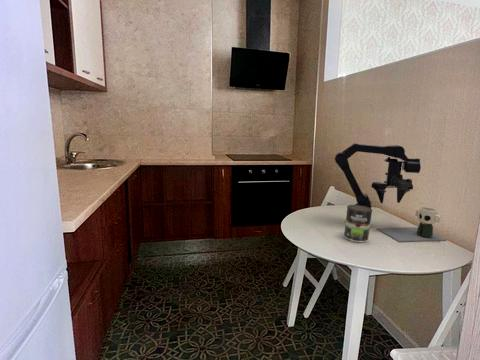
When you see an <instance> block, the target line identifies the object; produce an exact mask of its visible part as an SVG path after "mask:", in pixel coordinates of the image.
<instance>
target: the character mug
mask: <svg viewBox="0 0 480 360" xmlns="http://www.w3.org/2000/svg"><path fill="white" fill-rule="evenodd" d="M438 213H439V210H438V209H437V208H433V207H429V206H420V207H419V209H416V210H415V217H417V220H418V222H419V224H418V226H417V227H418V229H417V234H418V235H420V234H421V236H425V237H431V236H433V234H434V226H433V225H434V224H437V223H438V224H439V223H440V221H441V217H442V216H441V215H438Z"/></svg>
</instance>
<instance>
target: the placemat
mask: <svg viewBox="0 0 480 360" xmlns="http://www.w3.org/2000/svg"><path fill="white" fill-rule="evenodd" d="M417 229H418V226H414V227H413V226H412V227H408V226H407V227H376V230H377V231H379V232H380V233H382V234H384V235H385V236H388V237H389V238H391V239H393V240H395V241H396V242H398V243H417V242H418V243H419V242H420V243H422V242H424V243H426V242H447V240H448V239H446V238H444V237H442V236H440V235H438V234H436V233H433V236H431V237H425V236H421V234H420V235H418V234H417Z"/></svg>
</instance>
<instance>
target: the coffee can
mask: <svg viewBox="0 0 480 360" xmlns="http://www.w3.org/2000/svg"><path fill="white" fill-rule="evenodd" d="M346 208H347V210H346V216H345V225H344V234H343V237H344V238H345V239H346V240H348V241H349V242H350V241H351V242H353V243H367V242H369V235H370V228H371V223H372V221H371V220H372V213H373V208H372V207H371V208H369V207H366V206H361V205H355V204H348V205H347V206H346Z"/></svg>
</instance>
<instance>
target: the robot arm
mask: <svg viewBox="0 0 480 360" xmlns="http://www.w3.org/2000/svg"><path fill="white" fill-rule="evenodd" d="M405 151H406V150H405V148H404V147H403V145H402V146H401V145H397V144H393V145H392V144H390V145H375V144H374V145H373V144H361V143H357V142H356V143H352V144H351V145H350V146H348V147H347V148H346V149H344V150H343V151H340V152H337V153H336V154H335V155H334V162H335V163H336V165H337V166H338V167H339V168H340V169H341V172H343V174H344V175H345V178H346V180H347V182H348V185H349V186H350V188H351V190H352V192H353V194H354V197H355V201H356V203H355V204H354V205H361V206H366V207H369V208H371V209H372V201H371V199H370V197H369V196H368V194H367V193H365V194H364V192H362V190H361V188H360V185H359V184H358V181H357V179H356V177H355V176H354V173H353V172H352V170H351V167H350V163H349V159H350V158H351V157H352V156H353V155H354V154H355V153H367V154H378V155H385V156H387V157H386V158H385V159H383V161H384V162H386V163H388V165H387V172H385V173H384V175H385V176H386V180H384V181H383V182H380V181H373V182H372V183H371V186H370V188H372V189H373V190H375V192H376V194H377V196H378V200H379V202H380V204H383V203H384V197H385V193H386V192H387V190H386V189H393V188H396V201H397V204H400V203H401V201H402V199H403V198H404V196H405V195H406V194H407V193H408V192H410V191H412V190H414V184H413V180H412V179H411V178H403V174H401V173H402V171H404V173H408V174H409V173H411V174H419V173H420V172H421V168H422V166H421V159H420V158H408V156H407V155H406V153H405ZM391 157H392V158H391ZM398 159H399V160H398Z"/></svg>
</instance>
